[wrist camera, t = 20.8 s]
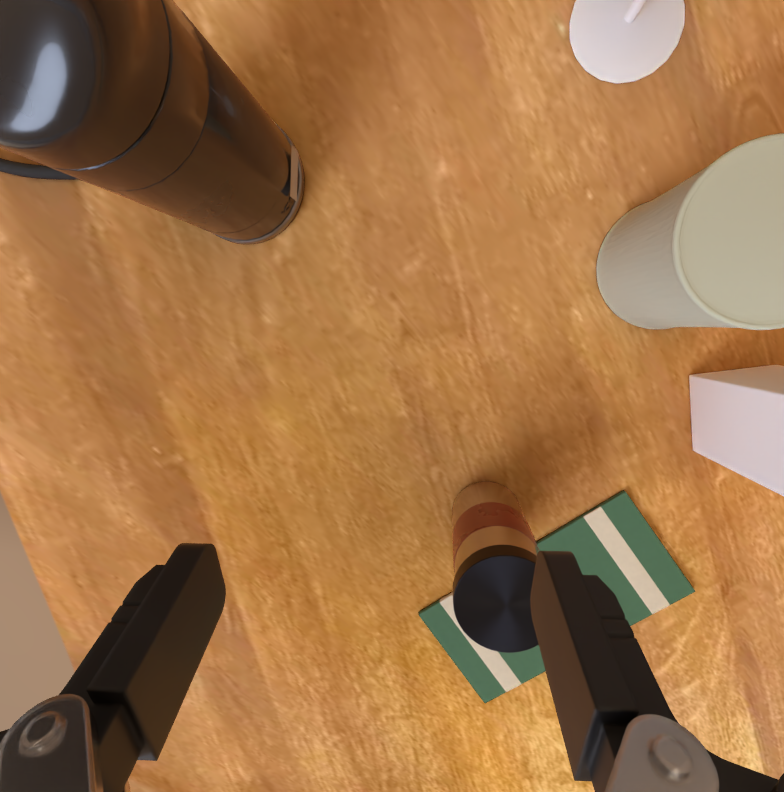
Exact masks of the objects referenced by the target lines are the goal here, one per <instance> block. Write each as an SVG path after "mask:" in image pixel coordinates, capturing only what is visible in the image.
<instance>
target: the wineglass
mask: <svg viewBox="0 0 784 792" xmlns="http://www.w3.org/2000/svg"><path fill="white" fill-rule="evenodd" d="M684 20H685V4H684V0H576V2H575V4H574V8H573V12H572V15H571V19H570V43H571V46H572V49H573V52H574V55H575V58H576V59H577V60H578V62H579V63H580V64H581V65H582V67H583V68H584V69H585V71H587V72H588V73H590V74H591V75H593V76H595V77H596V78H598V79H599V80H603V81H607V82H612V83H625V82H633V81H636V80H639V79H641V78H643V77H645V76H647V75H649V74H652V73H653V72H654V71H655V70H656V69H658V68H659V67H660V66H661V65H662V64H663V63H665V62H666V61H667V60H668V58H669V57H670V55H671V54H672V52H673V51H674V49H675V48H676V46H677V45H678V43H679V40H680V36H681V33H682V30H683V27H684Z"/></svg>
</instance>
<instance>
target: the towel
mask: <svg viewBox="0 0 784 792" xmlns="http://www.w3.org/2000/svg"><path fill="white" fill-rule="evenodd" d="M536 543H537V546H538V548H539V550H540V551H571V552H572V553H573V554H574V556H575V558H576V560H577V563H578V565H579V567H580V570H581V572H582V575H597V576H598V577H599V578H600V579H601V580H602V581H603V582H604V583H605V584H606V585H607V586H608V587H609V588H610V589H611V590H612V592H613V593H614V594H615V595H616V597H617V600H618V602H619V604H620V606H621V608H622V610H623V612H624V614H625V619H626V620H627V621H628V623H629V625H630V626H631V625H633V624H635V623H637V622H639V621H641V620H643V619H644V618H646V617H648V616H650V615H652V614H654V613H656V612H658V611H660V610H662V609H664V608H665V607H667V606H669V605H671V604H673V603H674V602H676V601H678V600H680V599H682V598H684V597H686V596H688V595H689V594H691V593H693V592H695V590H694V589H693V587H692V586H691V584H690V583H689V582H688V580H687V579H686V577H685V576H684V574H683V573H682V572H681V570H680V569H679V567H678V566H677V564H676V563H675V562H674V560H673V559H672V557H671V556H670V554H669V553H668V552H667V550H666V549H665V547H664V546H663V544H662V543H661V542H660V540H659V539H658V537H657V536H656V534H655V533H654V532H653V530H652V529H651V527H650V526H649V524H648V523H647V522H646V520H645V519H644V517H643V516H642V514H641V513H640V512H639V510H638V509H637V507H636V506H635V504H634V503H633V502H632V500H631V499H630V497H629V496H628V494H627V493H626V492H625V491H624V490H623V491H621V492H620V493H618V494H616V495H615V496H613V497H611V498H610V499H608V500H606V501H605V502H603V503H601V504H600V505H598V506H596V507H594V508H593V509H591V510H589V511H588V512H586V513H584V514H583V515H581V516H579V517H578V518H576V519H574V520H573V521H571V522H569V523H568V524H566V525H564V526H563V527H561V528H559V529H557V530H556V531H554V532H552V533H551V534H549V535H547V536H546V537H544V538H542V539H541V540H539V541H537V542H536ZM419 616H420V617H421V619H422V620H423V621H424V623H425V624H426V625H427V627H428V628H429V629H430V631H431V632H432V633H433V635H434V636H435V637H436V639H437V640H438V641H439V643H440V644H441V645H442V647H443V648H444V649H445V651H446V652H447V653H448V655H449V656H450V657H451V659H452V660H453V661H454V663H455V664H456V665H457V667H458V668H459V669H460V671H461V672H462V673H463V675H464V676H465V677H466V679H467V680H468V681H469V683H470V684H471V685H472V687H473V688H474V689H475V691H476V692H477V693H478V695H479V696H480V697H481V699H482V700H483V702H484V703H487V702H488V701H490V700H492V699H494V698H496V697H498V696H500V695H502V694H503V693H505V692H508V691H509V690H511V689H513V688H515V687H517V686H519V685H521V684H522V683H524V682H526V681H528V680H530V679H532V678H534V677H535V676H537V675H539V674H541V673H543V672H545V671H546V670H545V666H544V663H543V659H542V655H541V651H540V647H539V645H537V646H536V647H534V648H531V649H529V650H525V651H522V652H515V653H504V652H497V651H493V650H490V649H487V648H485V647H483V646H481V645H479V644H477V643H476V642H474V641H473V640H472V639H471V638H469V637H468V636H467V634H466V633H465V632H464V631H463V630H462V628H461V627H460V625H459V623H458V621H457V619H456V616H455V613H454V608H453V592H452V593H450V594H448V595H446V596H445V597H443V598H441V599H440V600H438V601H436V602H435V603H433V604H431V605H430V606H428V607H426V608H425V609H423V610H421V611H420V612H419Z"/></svg>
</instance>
